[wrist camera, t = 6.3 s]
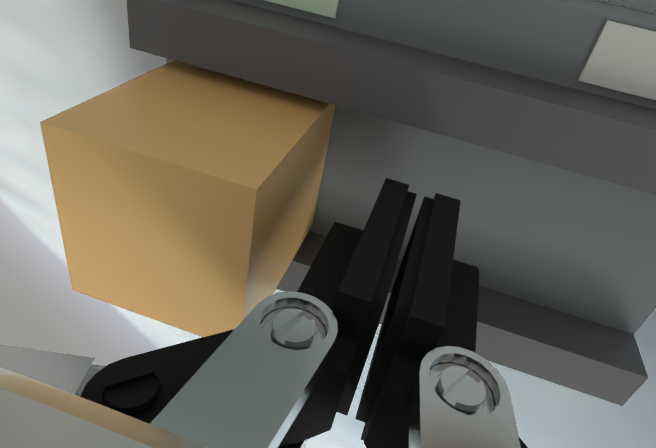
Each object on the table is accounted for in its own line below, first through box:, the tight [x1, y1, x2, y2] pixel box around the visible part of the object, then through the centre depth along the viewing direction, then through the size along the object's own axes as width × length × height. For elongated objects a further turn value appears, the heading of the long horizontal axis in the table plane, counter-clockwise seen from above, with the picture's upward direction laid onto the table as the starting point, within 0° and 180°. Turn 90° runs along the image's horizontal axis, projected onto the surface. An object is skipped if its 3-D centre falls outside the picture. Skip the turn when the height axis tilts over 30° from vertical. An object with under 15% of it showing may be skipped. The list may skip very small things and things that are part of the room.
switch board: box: [127, 0, 656, 406], centre depth 13 cm, size 14×10×4 cm
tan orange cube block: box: [40, 60, 336, 337], centre depth 11 cm, size 4×4×5 cm
